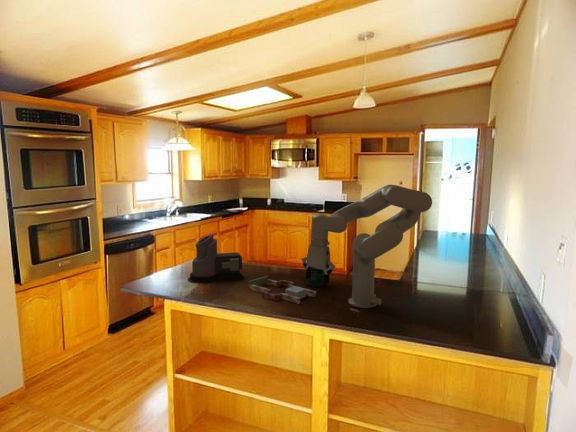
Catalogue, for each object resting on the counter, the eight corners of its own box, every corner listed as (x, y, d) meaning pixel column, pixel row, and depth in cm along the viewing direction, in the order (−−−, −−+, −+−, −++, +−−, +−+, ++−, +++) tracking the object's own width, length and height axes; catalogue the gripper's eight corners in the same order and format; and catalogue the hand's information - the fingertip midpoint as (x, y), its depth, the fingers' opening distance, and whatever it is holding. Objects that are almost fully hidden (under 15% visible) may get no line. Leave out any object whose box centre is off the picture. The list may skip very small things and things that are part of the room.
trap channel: (321, 294, 184) (321, 286, 183) (292, 306, 168) (292, 297, 167) (271, 281, 204) (271, 274, 204) (242, 291, 188) (242, 283, 187)
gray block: (306, 297, 181) (306, 288, 180) (296, 301, 175) (296, 292, 175) (294, 293, 185) (294, 285, 185) (285, 297, 180) (285, 289, 179)
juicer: (188, 284, 198) (187, 237, 195) (186, 276, 213) (185, 232, 210) (245, 280, 206) (245, 235, 203) (240, 272, 222) (240, 230, 219)
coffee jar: (320, 288, 194) (321, 252, 191) (305, 286, 197) (306, 250, 194) (326, 283, 202) (327, 248, 200) (312, 281, 206) (312, 247, 203)
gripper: (340, 244, 166) (338, 283, 168) (308, 238, 177) (306, 274, 179) (330, 246, 160) (328, 286, 162) (298, 240, 171) (296, 277, 173)
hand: (317, 280), depth 171 cm, fingers open, 9 cm apart
